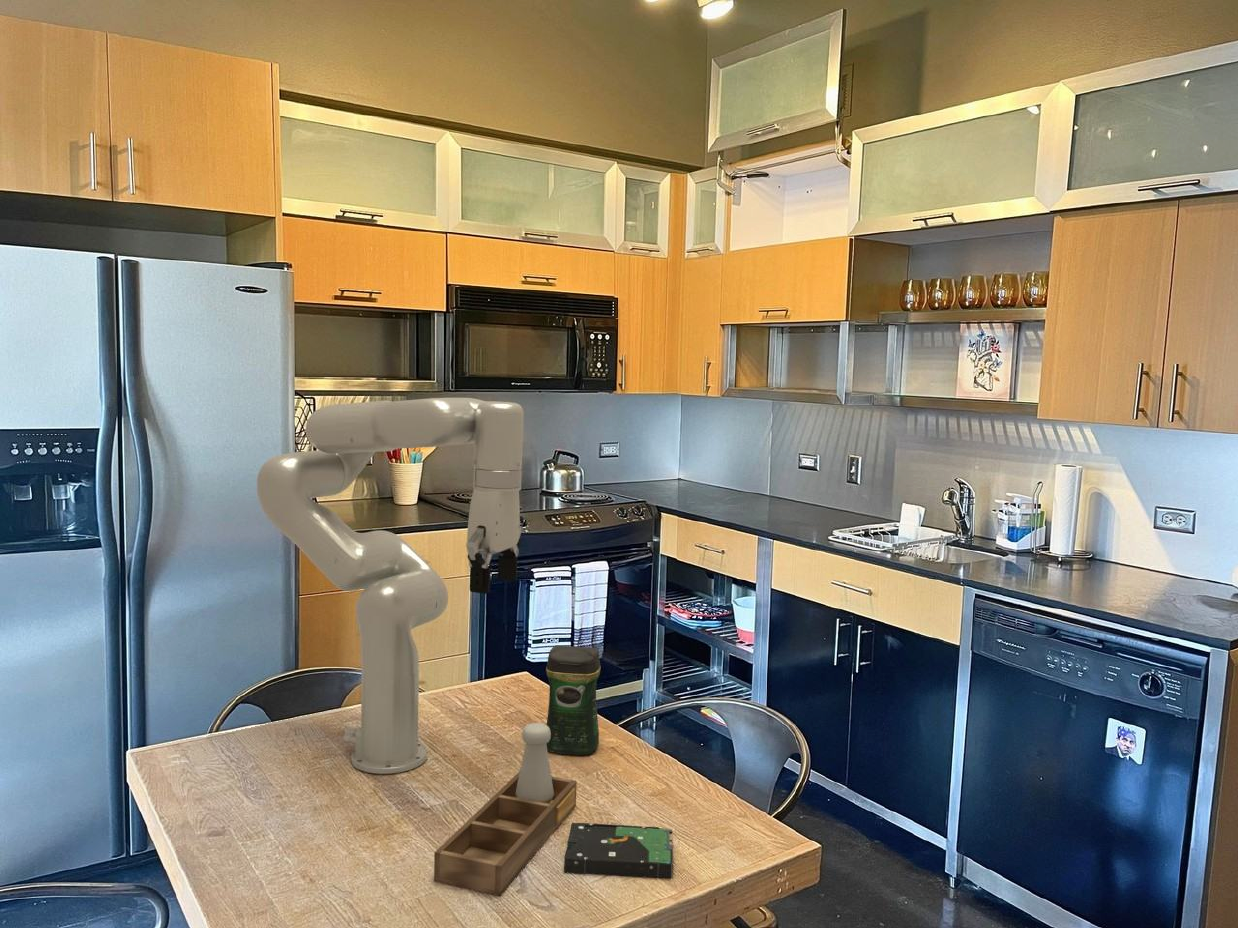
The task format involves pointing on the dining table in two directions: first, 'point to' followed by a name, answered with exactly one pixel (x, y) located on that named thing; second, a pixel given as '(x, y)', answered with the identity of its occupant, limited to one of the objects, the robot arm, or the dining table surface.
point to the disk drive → (619, 850)
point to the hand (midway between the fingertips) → (493, 586)
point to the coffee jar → (573, 699)
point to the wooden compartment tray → (502, 838)
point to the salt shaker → (535, 765)
